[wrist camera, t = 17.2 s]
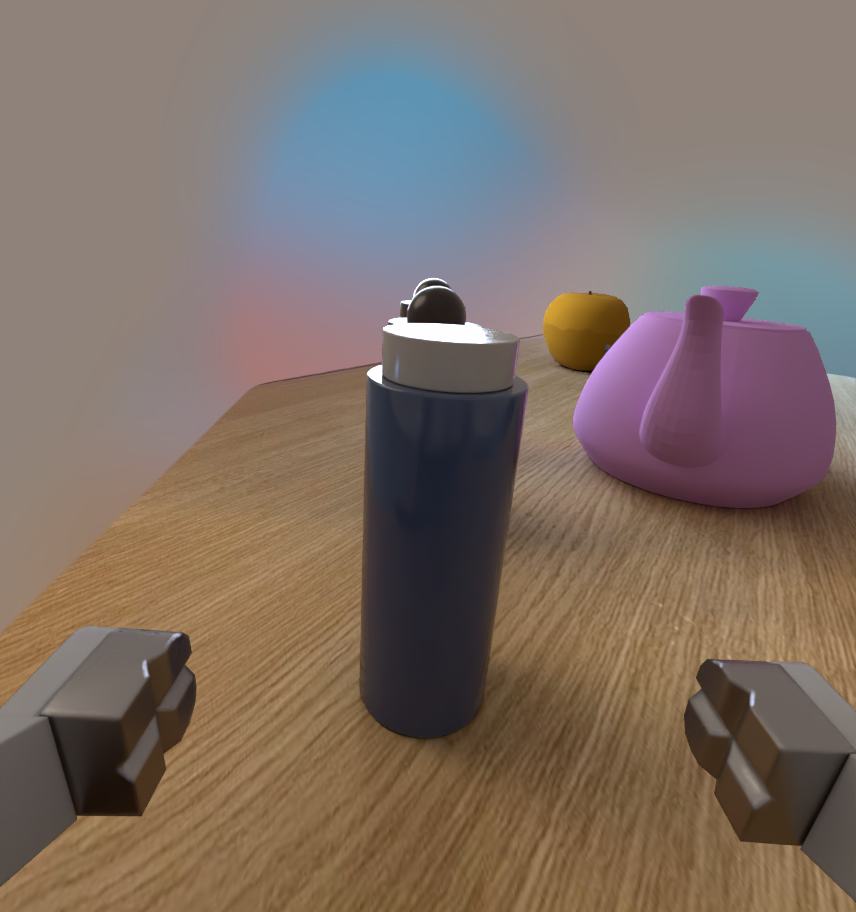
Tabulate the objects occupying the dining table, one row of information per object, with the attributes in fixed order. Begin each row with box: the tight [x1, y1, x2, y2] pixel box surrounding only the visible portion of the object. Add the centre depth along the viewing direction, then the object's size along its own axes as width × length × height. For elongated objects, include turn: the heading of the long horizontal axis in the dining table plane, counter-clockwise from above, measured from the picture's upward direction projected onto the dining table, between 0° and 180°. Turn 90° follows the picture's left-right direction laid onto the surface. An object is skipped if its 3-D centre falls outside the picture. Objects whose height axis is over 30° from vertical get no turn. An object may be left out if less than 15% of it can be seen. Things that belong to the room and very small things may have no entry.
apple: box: [543, 291, 630, 371], centre depth 76 cm, size 13×13×11 cm
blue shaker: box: [360, 323, 528, 738], centre depth 15 cm, size 4×4×12 cm
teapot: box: [573, 286, 836, 508], centre depth 36 cm, size 25×18×14 cm
